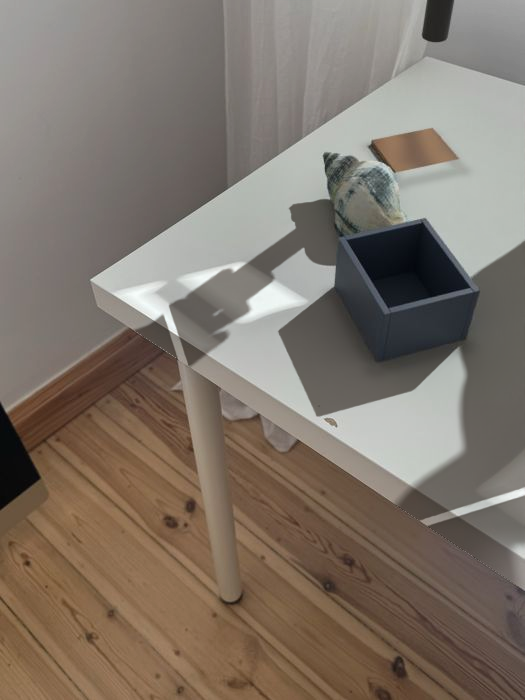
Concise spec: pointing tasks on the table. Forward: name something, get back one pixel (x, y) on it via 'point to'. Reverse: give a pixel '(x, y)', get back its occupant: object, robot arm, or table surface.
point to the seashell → (362, 194)
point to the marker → (437, 20)
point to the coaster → (413, 150)
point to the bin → (404, 289)
